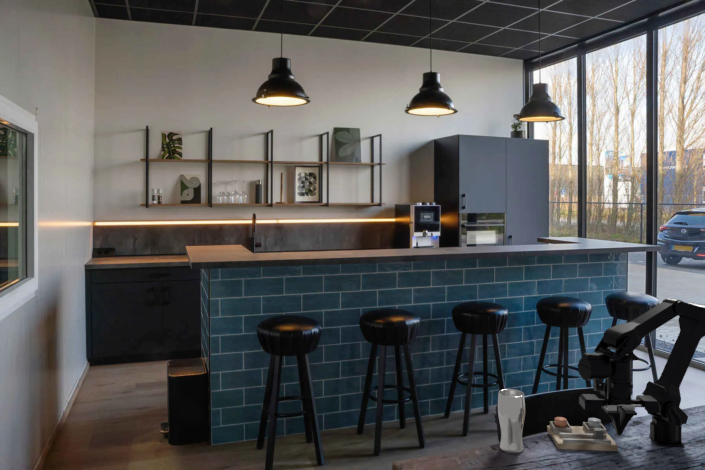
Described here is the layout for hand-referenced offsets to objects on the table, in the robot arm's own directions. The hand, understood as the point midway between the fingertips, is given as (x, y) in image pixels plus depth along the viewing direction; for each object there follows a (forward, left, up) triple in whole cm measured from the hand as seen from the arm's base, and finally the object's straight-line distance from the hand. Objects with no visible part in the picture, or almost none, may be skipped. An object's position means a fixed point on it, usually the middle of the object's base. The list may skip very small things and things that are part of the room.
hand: (618, 434), depth 142 cm
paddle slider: (+5, 0, -1) cm, 5 cm away
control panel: (+9, -4, -3) cm, 10 cm away
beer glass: (+28, +3, -4) cm, 28 cm away
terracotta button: (+13, -6, 0) cm, 15 cm away
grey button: (+4, -7, 0) cm, 8 cm away
